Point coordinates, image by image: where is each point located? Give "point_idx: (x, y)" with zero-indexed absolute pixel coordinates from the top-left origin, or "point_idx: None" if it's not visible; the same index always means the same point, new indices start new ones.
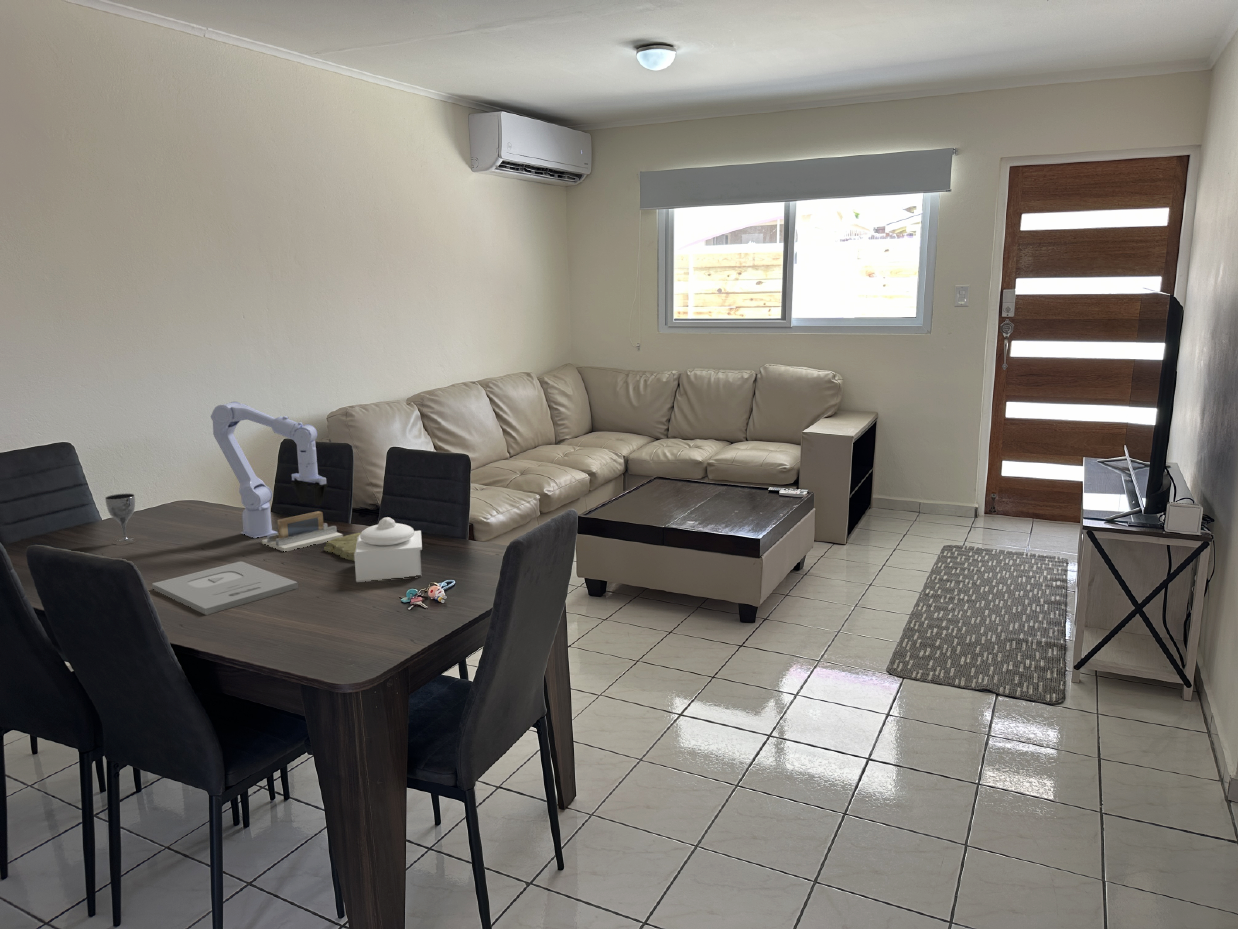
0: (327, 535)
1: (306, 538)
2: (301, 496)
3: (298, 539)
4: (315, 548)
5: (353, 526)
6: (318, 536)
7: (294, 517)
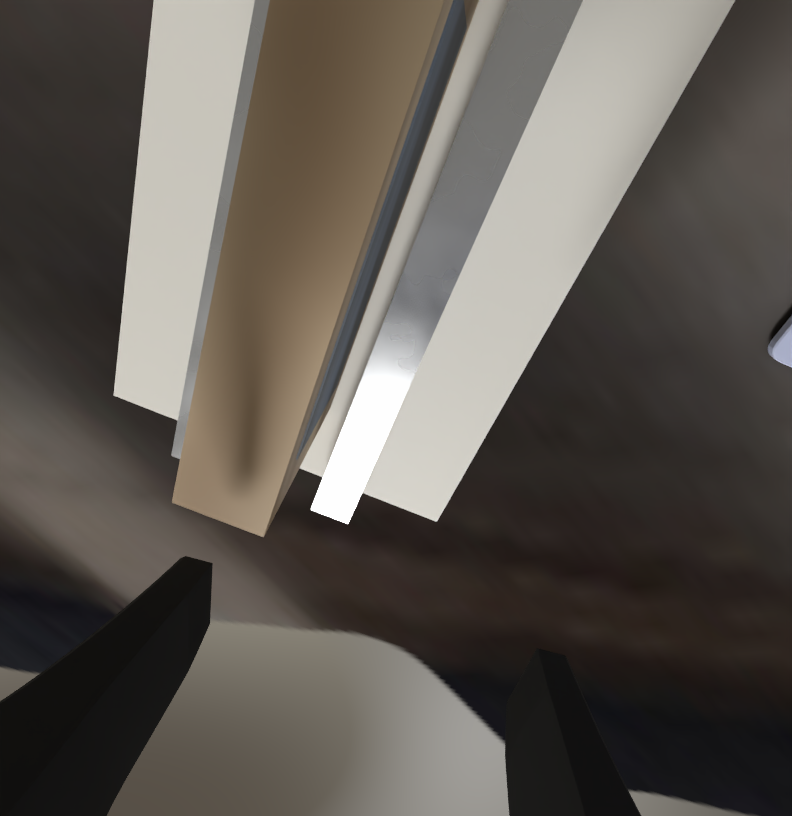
0: (192, 336)
1: None
2: (548, 767)
3: None
4: (54, 14)
5: (291, 607)
6: None
7: (305, 149)
